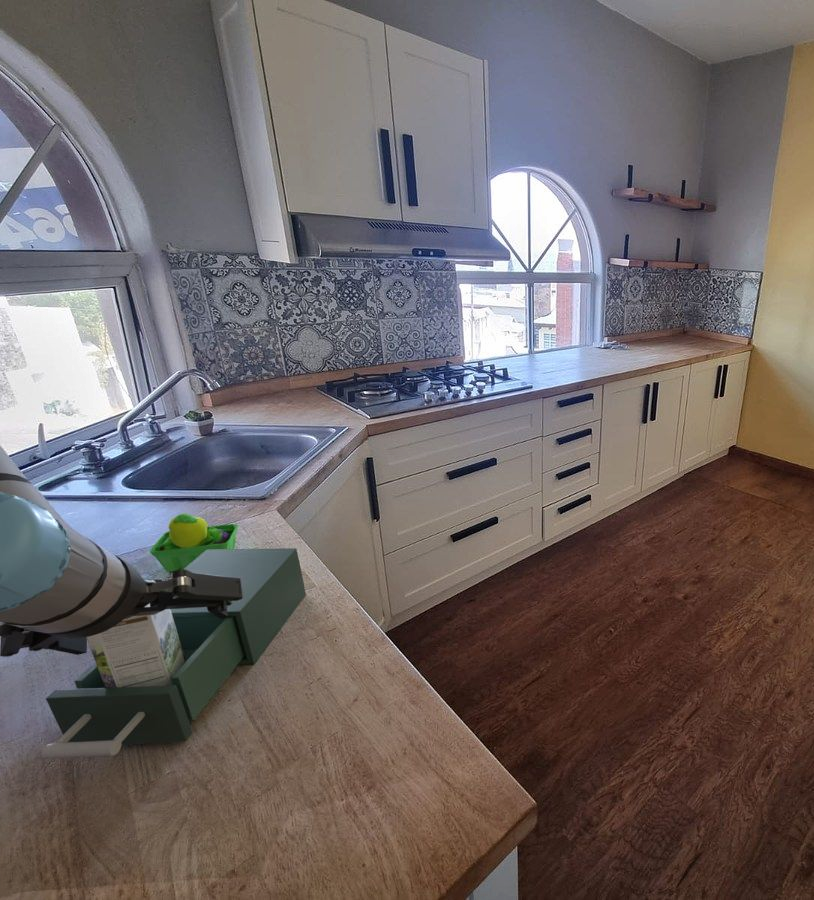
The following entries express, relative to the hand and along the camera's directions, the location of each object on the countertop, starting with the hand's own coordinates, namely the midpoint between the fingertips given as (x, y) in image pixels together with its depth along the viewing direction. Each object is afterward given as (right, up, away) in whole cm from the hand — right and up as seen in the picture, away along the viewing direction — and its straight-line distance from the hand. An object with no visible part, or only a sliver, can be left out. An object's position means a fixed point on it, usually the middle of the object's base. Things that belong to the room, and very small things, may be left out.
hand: (156, 623), depth 62 cm
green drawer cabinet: (-1, -6, +14) cm, 15 cm away
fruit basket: (-18, +1, +30) cm, 35 cm away
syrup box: (+1, -9, 0) cm, 9 cm away
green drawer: (+1, -10, 0) cm, 10 cm away
